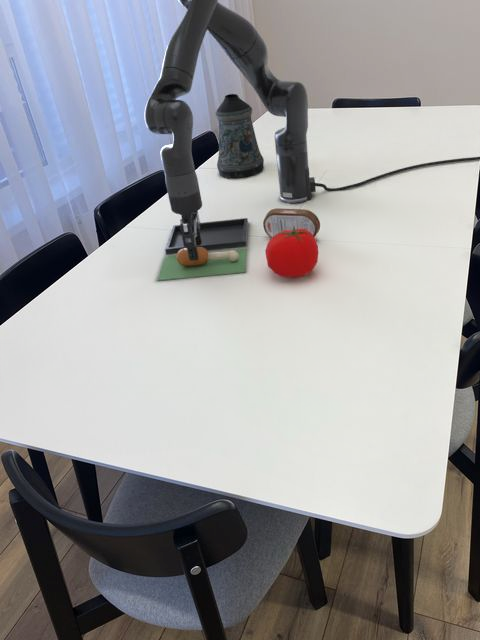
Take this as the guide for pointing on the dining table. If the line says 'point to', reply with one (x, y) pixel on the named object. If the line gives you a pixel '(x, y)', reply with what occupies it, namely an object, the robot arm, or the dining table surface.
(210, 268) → the napkin
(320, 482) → the dining table surface
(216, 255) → the drumstick
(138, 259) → the dining table surface
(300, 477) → the dining table surface
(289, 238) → the tomato
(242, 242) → the pan
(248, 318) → the dining table surface
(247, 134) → the beer stein
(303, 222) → the tin
